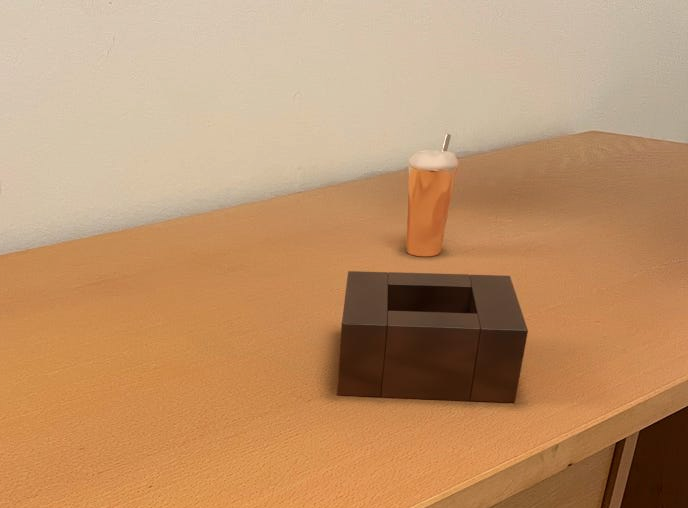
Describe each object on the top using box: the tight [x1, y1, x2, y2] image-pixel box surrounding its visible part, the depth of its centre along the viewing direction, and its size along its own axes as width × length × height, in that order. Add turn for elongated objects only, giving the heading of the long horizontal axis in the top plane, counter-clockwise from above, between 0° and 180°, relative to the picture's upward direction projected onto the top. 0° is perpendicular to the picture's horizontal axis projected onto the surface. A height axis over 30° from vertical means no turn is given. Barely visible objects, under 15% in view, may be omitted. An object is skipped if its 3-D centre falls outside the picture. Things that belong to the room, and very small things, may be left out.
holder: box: [336, 270, 529, 404], centre depth 70 cm, size 12×12×5 cm
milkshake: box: [405, 133, 459, 257], centre depth 93 cm, size 4×5×10 cm
